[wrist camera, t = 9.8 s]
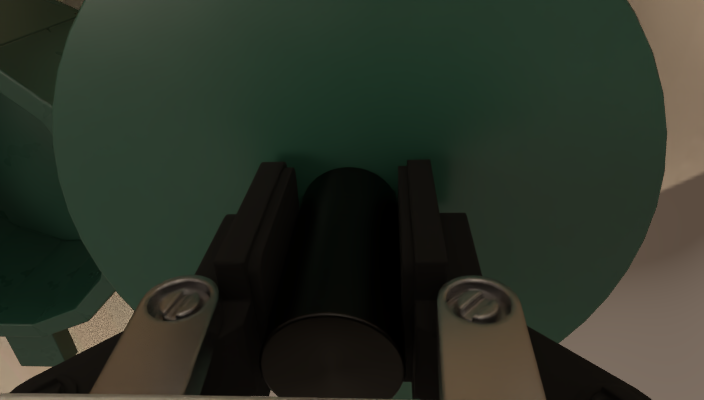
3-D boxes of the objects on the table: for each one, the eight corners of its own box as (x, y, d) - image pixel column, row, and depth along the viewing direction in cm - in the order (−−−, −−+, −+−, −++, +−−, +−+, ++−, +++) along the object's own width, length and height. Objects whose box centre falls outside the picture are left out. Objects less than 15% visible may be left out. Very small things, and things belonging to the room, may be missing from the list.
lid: (732, -166, 9) (1187, -257, 4) (584, 380, 17) (676, 601, 11) (-20, -122, 10) (-441, -149, 5) (152, 373, 18) (54, 573, 12)
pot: (131, -90, 20) (22, -86, 14) (217, 283, 30) (173, 381, 24) (-184, -74, 21) (-413, -63, 15) (-2, 282, 31) (-97, 375, 25)
